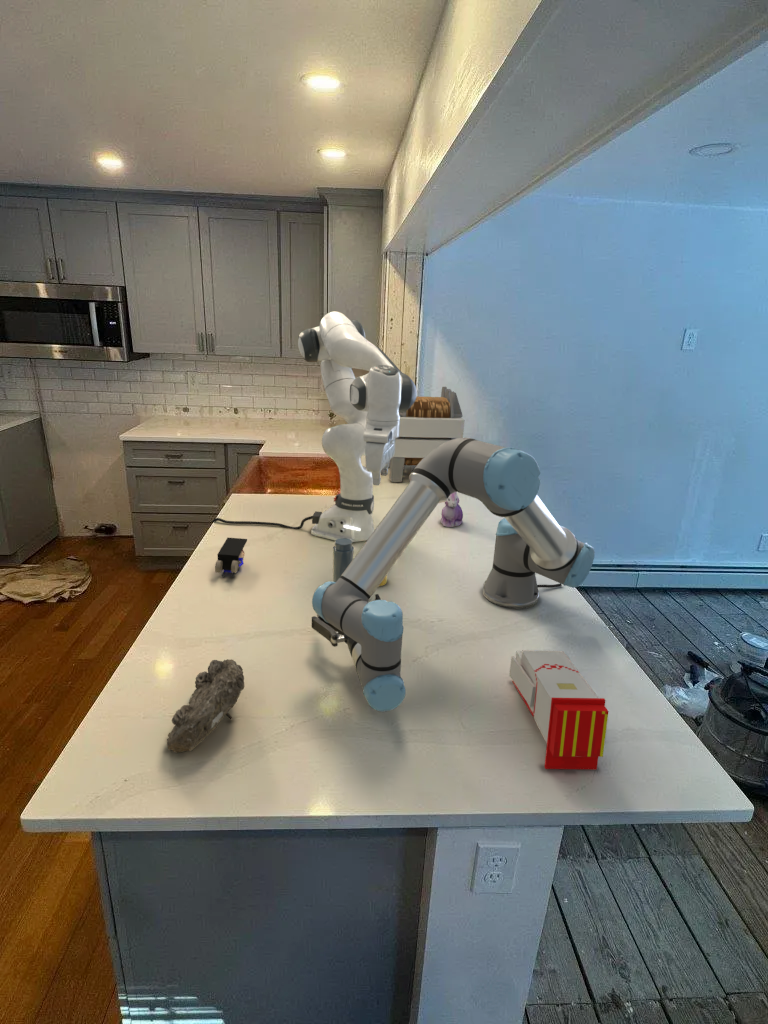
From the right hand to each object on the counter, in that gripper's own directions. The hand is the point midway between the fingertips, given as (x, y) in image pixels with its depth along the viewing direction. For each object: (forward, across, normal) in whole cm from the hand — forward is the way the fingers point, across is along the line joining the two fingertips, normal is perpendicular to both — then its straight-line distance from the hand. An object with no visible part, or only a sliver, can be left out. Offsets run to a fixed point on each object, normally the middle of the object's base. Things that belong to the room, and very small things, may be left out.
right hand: (349, 601), depth 137 cm
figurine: (+66, +52, -8) cm, 84 cm away
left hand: (+24, +13, +23) cm, 36 cm away
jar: (+9, 0, -8) cm, 12 cm away
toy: (-39, +32, -8) cm, 51 cm away
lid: (+24, +13, -6) cm, 28 cm away
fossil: (-26, -32, -8) cm, 41 cm away
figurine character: (+39, -27, -8) cm, 48 cm away
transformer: (+133, +61, -8) cm, 146 cm away
